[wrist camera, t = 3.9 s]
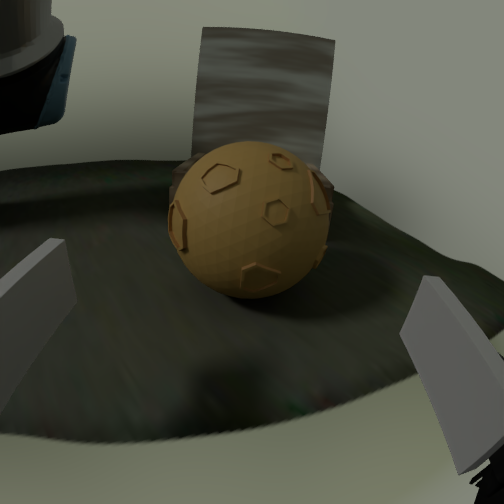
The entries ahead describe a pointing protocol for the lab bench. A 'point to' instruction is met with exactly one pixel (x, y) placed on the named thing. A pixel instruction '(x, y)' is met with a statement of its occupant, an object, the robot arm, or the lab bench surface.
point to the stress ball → (250, 219)
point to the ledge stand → (261, 95)
